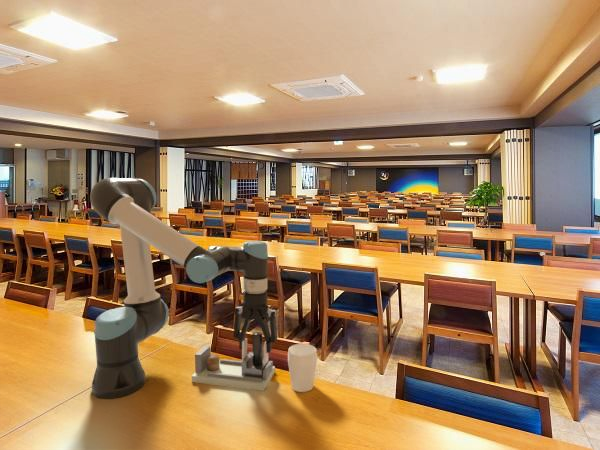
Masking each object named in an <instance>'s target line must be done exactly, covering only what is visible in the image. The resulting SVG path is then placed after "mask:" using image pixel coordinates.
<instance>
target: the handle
mask: <svg viewBox="0 0 600 450" xmlns="http://www.w3.org/2000/svg"><path fill="white" fill-rule="evenodd" d="M251 337H252V338H251V339H252V343H251V344H252V346H251V347H252V351H249V352H247V356H246V357H245V358H244V359H243V360H242V359H241V361H242V376H248V377H256V378H263V370H264V368H265V367H266V365H267V364H268V362H269V361H270V360H269V359H268V361H267V363H266V364H264V344H263V332H262V331H255V332H252V334H251Z"/></svg>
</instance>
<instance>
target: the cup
mask: <svg viewBox="0 0 600 450" xmlns="http://www.w3.org/2000/svg"><path fill="white" fill-rule="evenodd" d="M317 352H318V351H317V348H316V347H315V346H314V345H311V344H307V343H298V344H292V345H290V346H289V348H288V351H287V364H288V371H289V377H290V378H289V379H290V383H291V384H290V386H291V388H292V389H293V391H294V392H299V393H306V392H309V391H311V390H312V389H313V388H314V384H315V383H314V382H315V376H316V369H317V363H318V361H317V360H318V356H317V354H318V353H317Z"/></svg>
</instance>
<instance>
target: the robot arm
mask: <svg viewBox="0 0 600 450" xmlns="http://www.w3.org/2000/svg"><path fill="white" fill-rule="evenodd" d="M89 198H90V199H89V200H90V203H91V206H92V208H93V210H94V211H95V212H96V213H97V215H99V216H100V217H101V218H102V219H104V220H105V221H107V222H109V223H110V224H112V225H119V227H120V236H121V237H120V238H121V247H122V253H123V255H122V256H123V263H124V269H125V270H124V271H125V272H124V273H125V280H126V289H127V290H126V291H127V296H126V297H125V299H124V300H123V305H124V306H119V307H115V308H114V309H113V308H111V309H108V310H106V311H104V312H101V314H99V315H98V316H97V317H96V319H95V322H94V329H93V330H94V331H93V332H94V342H95V343H94V344H95V353H96V356H95V357H96V369H95V371H94V375H93V379H92V382H91V393H92V395H93V396H95V397H96V398H100V399H115V398H116V399H117V398H121V397H122V398H123V397H124V396H128V395H131V394H134V393H135V392H137V391H138V390H140V389H142V387H143V386H144V385H145V384H146V373H145V370H144V368H143V366H142V364H141V363H142V362H141V361H140V358H139V344H140V343H142V342H144V341H145V340H147V339H148V338H150V337H151V336H153V335H155V334H157V333H159V331H161V330H162V329H163V328H164V327H165V326H166V324H167V322H168V320H169V315H170V311H169V310H170V309H169V307H168V304H166V303H165V301H164V300H163V299H162V298H161V294H160V293H159V292H157V291H156V288H155V279H154V270H153V268H154V267H153V262H152V261H153V260H152V252H151V246H152V247H153V248H154V249H156V250H157V251H159V252H160V253H162V254H163V255H165V256H167V257H168V258H170V259H171V260H173V261H174V262H175V263H177V264H178V265H180V266H181V267H183V268H184V269H185V271H186V275H187V276H188V278H189V279H190V280H191V281H192V282H194V283H196V284H203V283H206V282H210V281H212V280H214V279H215V278H216V277H217V276H220V275H222V274H224V273H226V272H228V271H229V272H231V271H233V272H242V273H243V276H242V277H243V278H242V279H243V283H242V284H243V287H242V288H243V296H242V297H243V298H242V299H243V303H242V306H239V305H238V306H236V307H235V308H234V309H233V312H234V324H233V338H234V339H237V340H238V343H239V346H238V347H239V348H238V349H239V350H240V351H241V361H242V360H243V359H244V358H245V357H246V356H247V354H248V338H246V334H247V332H248V329H249V326H250V323H251V321H253V320H255V321H257V322H258V324H259V325H260V328H261V333H262V336H263V337H264V340H265V342H263V359H264V364H266V363H267V361H268V360H269V354H270V353H271V351H272V343H275V342H276V341H277V339H278V331H277V329H278V328H277V319H276V316H277V313H278V311H277V309H271V308H270V307H269V306H268V268H269V267H268V265H269V263H268V261H269V260H268V258H269V255H268V244H267V243H266V242H265V241H261V240H247V241H245V242H243V245H242V246H241V247H239V246H224V245H223V246H222V245H211V246H209V247H208V248H207V249H205V248H204V247H202V246H201V245H199V244H197V243H196V242H195V241H193V240H191V239H190V238H189V237H187V236H185V235H184V234H182V233H181V232H179V231H178V230H176V229H174V227H172V226H170V225H168V224H167V223H165V222H164V221H162V220H161V219H160V218H158V217H157V216H155V215H153V214H152V210H153V208H154V207H155V205H156V203H157V192H156V191H155V188H154V187H153V186H152V185H151V184H150V183H149V182H148V181H147V180H145V179H142V178H136V177H128V178H127V177H126V178H125V177H124V178H123V177H121V178H120V177H106V178H103V179H100V180H99V181H97V182H96V183H95V184H94V185H93V186H92V188H91V190H90V195H89ZM243 312H244V314H245V318H244V322H243V325H241V324H242V314H243ZM266 314H268V317H269V326H268V323H267V319H266ZM241 326H242V328H241ZM269 327H270V328H269Z"/></svg>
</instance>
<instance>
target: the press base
mask: <svg viewBox="0 0 600 450" xmlns="http://www.w3.org/2000/svg"><path fill="white" fill-rule="evenodd" d="M211 352H212V351H211V345H206V344H205V345H204V346H202V348H200V349H199V350H198V351H196V353H195V354H194V366H195V372H194V373H192V375H191V382H192V383H198V384H204V385H205V384H206V385H213V386H222V387H223V386H224V387H229V388H230V387H231V388H238V389H246V390H254V391H262V392H264V391H265V389H266V387H267V386H268V384H269V383H270V381H271V379H272V378H273V376H274V374H275V372H276V366H275V365H273V364H274V363H273V362H274V361H273V360H269V362H268V364H267V365H266V367H265V368H264V370H263V378H256V377H248V376H242V360H231V359H226V358H224V359H222V358H221V359H220V358H219V367H220V368H219V370H217V371H208V370H207V356H209V355H212V354H211Z"/></svg>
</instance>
